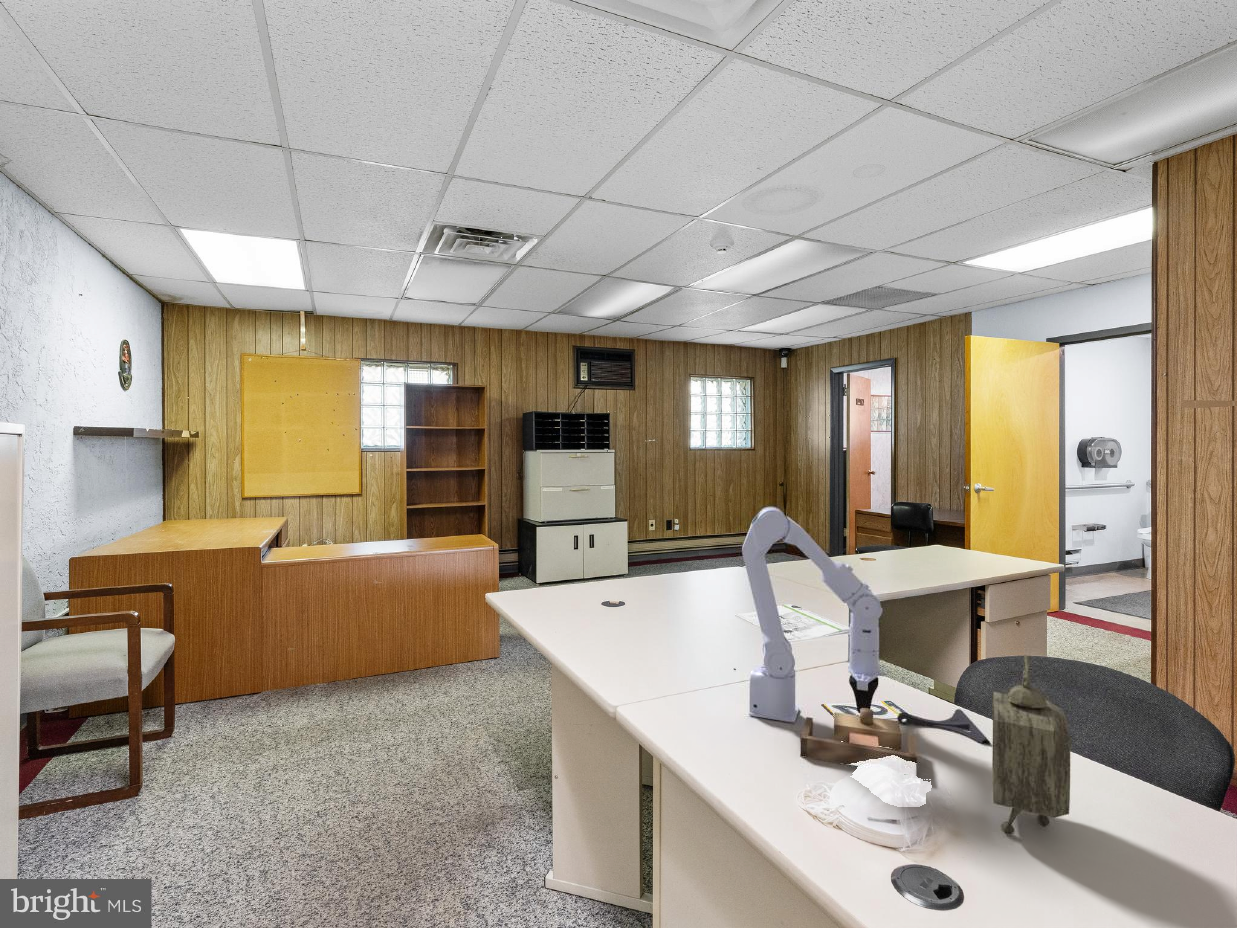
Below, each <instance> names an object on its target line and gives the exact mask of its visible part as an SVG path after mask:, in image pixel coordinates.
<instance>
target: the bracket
mask: <svg viewBox="0 0 1237 928" xmlns="http://www.w3.org/2000/svg"><path fill="white" fill-rule="evenodd" d="M904 719H905V720H904ZM903 720H904V721H903ZM896 721H899V724H900V725H907V726H916V727H917V726H919V727H932V728H933V727H934V728H939V729H942V730H947V731H950V732H953V733H956V734H958V735H961V736H964V737H966V738H968V739H970V740H972V741H974V742H975V743H978V744H981V745H983V743H984V742H985V743H986V745H988V746H990V745H991V741H990V740H989V738H987V737H986V735H985V734H984V733H982V731H981V730H980V729H979V728H978V727H977V726H976V724H974V722H973V721H972V720H971V718H969V717H968V716H967V714H966V713H965V712H964V711H962V709H960V708H957V709H955V710H954V713H953V715H952V716H950V717H949V718H947V719H944V720H933V719H928V718H922V717H920V716H916V715H912V714H909V713H907V712H905V711H904V712H900V713H899V714H898V715H897V718H896ZM967 730H968V731H967Z"/></svg>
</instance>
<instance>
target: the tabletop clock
mask: <svg viewBox="0 0 1237 928" xmlns="http://www.w3.org/2000/svg"><path fill="white" fill-rule="evenodd" d="M1022 661H1023V673H1022V674H1023V675H1022V677H1021V678H1022V681H1021V683H1022V684H1020V685H1014V686H1013V687H1012V688H1010V689H1009V691H1007V693H1002V692H996V691H993V692H992V696H993V697H992V767H991V768H992V771H991V772H992V795H993V796H992V801H993V804H995V805H999V806H1004V807H1008V808H1011V811H1010V815H1009V818H1008V821H1004V822H1002V824H1001V825H1000V829H1001V831H1002V833H1004V834H1006V835H1009V836H1011V835H1013V833H1014V832H1015V827H1014V825H1013V824H1014V822H1015V820H1016V819H1017V817H1018V815H1019V814H1020V813H1021V812H1028V813H1032V814H1035V815H1036V822H1037V823H1038V824H1039V825H1040V826H1042V827H1048V826H1049V825H1050V819H1049V818H1052V819H1055V818H1059V817H1063V816H1066V815H1070V806H1071V805H1070V804H1071V801H1070V800H1071V796H1070V795H1071V733H1070V729H1069V726H1068V722H1067V718H1066V716H1065V715H1066V714H1065V713H1064V710H1063V709H1062V708H1060V707H1059V706H1058V705H1055V704H1053V703H1052V702H1050V701H1049V700H1046V698H1045V696H1044V695H1043V694H1042V693H1041V691H1039V690H1038V689H1037V688H1035V687H1033V686H1031V681H1032V679H1031V661H1030V657H1029V656H1028V655H1026V654H1025V655H1023V660H1022Z"/></svg>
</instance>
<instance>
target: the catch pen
mask: <svg viewBox="0 0 1237 928" xmlns="http://www.w3.org/2000/svg"><path fill="white" fill-rule="evenodd" d="M813 720H814V718H813V717H809V716H806V718H805V722H804V724H803V728H802V732H801V734H800V740H799V741H800V748H799V749H800V750H799V751H800V757H802V756H804V757H803V758H808V759H813V758H815V759H814V760H818V759H822V760H821V761H824V760H825V762H829V761H830V763H836V764H840V763H843V764H842V765H845V764H851V763H857V762H859V761H866V760H869V759H878V758H883V757H886V756H891V755H895V756H898V757H900V758H902V759H904V760H906V761H912V762H915V763H917V764H918V754H917V745H916V735H915V734H913V733H907V742H906V743H907V747H906V749H907V752H903V751H900V750H893V749H886V748H880V747H879V748H876V747H870V746H864V745H858V744H853V743H847V742H841V741H835V740H834V739H829V738H822V737H819V736H814V735H813V731H814V728H813V727H814V724H813V723H814V721H813Z"/></svg>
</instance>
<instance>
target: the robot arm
mask: <svg viewBox="0 0 1237 928" xmlns="http://www.w3.org/2000/svg"><path fill="white" fill-rule="evenodd" d="M781 539H782V541H783V543H785V544H790V545H793V546H796V547H797V548H798V549H799V550H800V551H801V552H802V553H803V554H804V555H805V556H806V557H807V558H809V560H810V561H812V563H813V564H814V565H816V567H817V568H819V570H820V571H821V580H822V582H823V583H824V584H825V585H826V586H827V587H828V588H829V589H830V590H831V592H832V593H833V594H835V596H837V598H839V599H840V601H842V603H844V604H847V607H848V609H849V610H851V612H850V623H849V655H848V656H849V657H848V658H849V659H848V660H849V665H848V673H850V675H849V679H848V683H849V685H850V687H851V689H852V691H853V695H854V700H855V703H856V710H857V713H858V714H860V709H861V708H868V709H872V708H871V707H872V702H873V697H874V695H875V692H876V691H877V689H878V687H879V677H885V676H886V673H885V672H886V670H884V669H879V668H880V666H879V665H880V664H879V661H880V659H879V658H880V627H879V623H880V622H879V618H880V617H881V616H882V614H883V607H882V605H881V601H880V600H879V598H878V597H877V596H876V595H875V594H874V593H873V592H872V590H871V589H870V586H869V585H868V584H867V583H866V582H865V583H863V582H862V580H860V579H859V578H858V576H856V575H855V573H854V572H853V571H854V568H853V567H852V566H851V565H850V564H848V563H847V564H845V563H844V562H843V561H834V560H832V559H831V558H830V556H829V555H827V553H826V552H825V551H824V550H823V549H822V548H821V547H820V546H819V544H817V543H816V541H815V540H814V539H813V538H812V537H811V536H810V534H808V533H807V532H806V530H805V529H804V528H803V527H801V525H800V524H798V523H797V522H796V521H794V520H793V519H792V518H790V517H789V516H788V515H787V516H786V515H785V513H784V512H783V511H782V510H781V509H780V508H778V507H775V506H765V507H764V508H762V509H760V511H759V512H758V513H757V514H756V515H755V516H754V518H753V519H752V521H751V523H750V527H749V529H748V531H747V533H746V537H745V539H744V541H743V544H742V548H741V551H742V552H741V553H742V558H743V562H744V565H745V569H746V573H747V578H748V582H749V586H750V591H751V595H752V598H753V601H754V606H755V611H756V614H757V618H758V623H759V627H760V631H761V636H762V642H763V644H762V653H763V654H762V655H763V664H762V665H761V667H760V668H752V670H751V672H750V677H749V712H748V715H749V716H751V717H757V718H764V719H769V720H775V721H782V722H787V723H792V724H793V723H795V722H796V720H797V717H798V713H799V711H800V707H799V706H798V705H796V670H795V665H796V660H795V657H794V654H793V647H792V645H791V642H790V641H789V640H788V639H787V637H786V636H785V634H784V630H783V629H784V628H783V626H782V622H781V618H780V615H779V610H778V609H779V608H778V605H777V601H776V597H775V594H774V593H775V592H774V589H773V585H772V580H771V577H770V573H769V570H768V565H767V561H766V557H765V556H766V554H767V553H768V551H769V550H770V549H771V547H773V546H772V545H774V544H775V543H776V542H778V541H779V540H781Z"/></svg>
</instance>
